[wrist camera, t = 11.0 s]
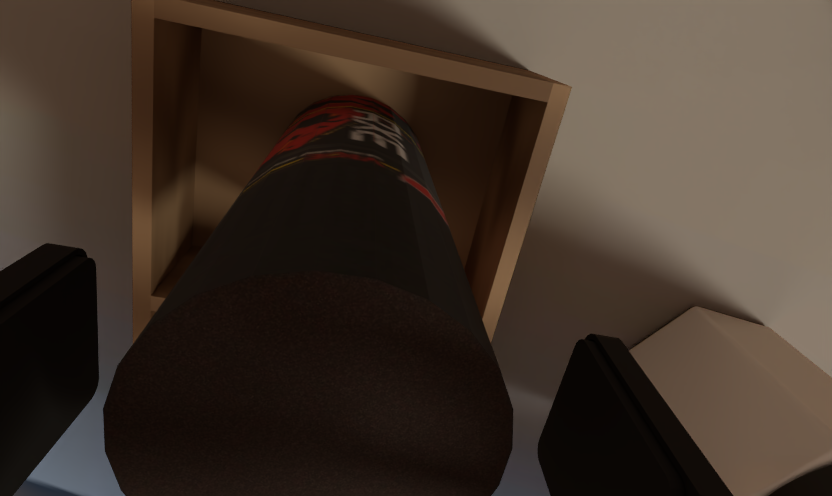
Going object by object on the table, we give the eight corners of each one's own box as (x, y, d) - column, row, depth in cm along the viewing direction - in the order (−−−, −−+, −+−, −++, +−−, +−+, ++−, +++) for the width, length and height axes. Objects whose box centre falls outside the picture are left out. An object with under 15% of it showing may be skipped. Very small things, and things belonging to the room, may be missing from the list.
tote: (191, -5, 19) (131, -11, 14) (530, 70, 21) (571, 86, 16) (175, 420, 27) (133, 503, 22) (423, 448, 29) (431, 530, 24)
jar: (610, 320, 26) (777, 544, 15) (774, 287, 26) (1064, 489, 15) (617, 452, 30) (754, 708, 19) (760, 424, 29) (984, 666, 19)
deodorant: (279, 234, 22) (135, 587, 9) (274, 89, 20) (62, 263, 6) (418, 239, 23) (488, 575, 9) (429, 98, 20) (545, 277, 7)
